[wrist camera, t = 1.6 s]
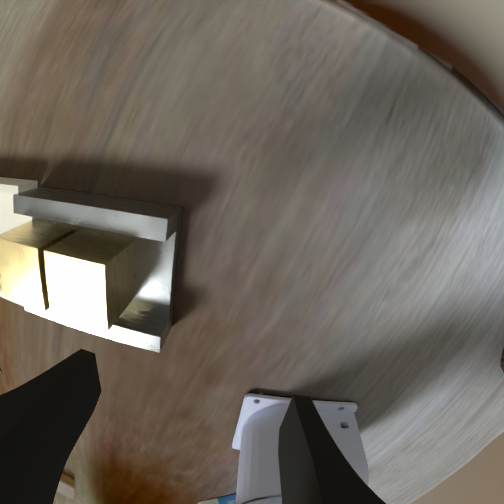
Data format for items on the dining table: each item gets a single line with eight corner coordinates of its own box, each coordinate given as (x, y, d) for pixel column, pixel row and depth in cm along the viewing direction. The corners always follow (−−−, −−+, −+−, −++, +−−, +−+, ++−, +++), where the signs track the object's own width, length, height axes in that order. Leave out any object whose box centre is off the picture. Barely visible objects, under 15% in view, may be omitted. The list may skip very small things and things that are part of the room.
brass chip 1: (74, 228, 17) (37, 248, 14) (76, 283, 19) (45, 311, 15) (32, 220, 17) (-6, 237, 13) (35, 272, 18) (3, 295, 15)
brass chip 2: (135, 240, 17) (104, 265, 14) (133, 298, 19) (107, 332, 15) (80, 229, 17) (43, 250, 14) (82, 285, 19) (51, 314, 15)
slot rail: (182, 207, 18) (167, 219, 15) (171, 326, 20) (159, 352, 18) (40, 186, 17) (13, 194, 15) (45, 292, 20) (24, 309, 17)
